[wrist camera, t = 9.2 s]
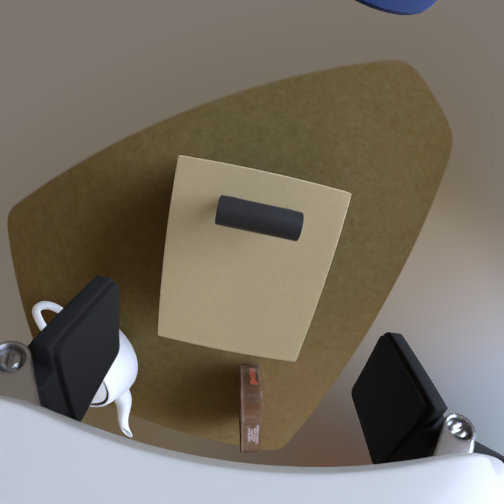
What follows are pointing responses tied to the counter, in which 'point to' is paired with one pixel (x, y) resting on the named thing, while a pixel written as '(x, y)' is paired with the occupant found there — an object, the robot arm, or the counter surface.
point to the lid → (246, 257)
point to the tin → (250, 408)
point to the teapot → (117, 376)
